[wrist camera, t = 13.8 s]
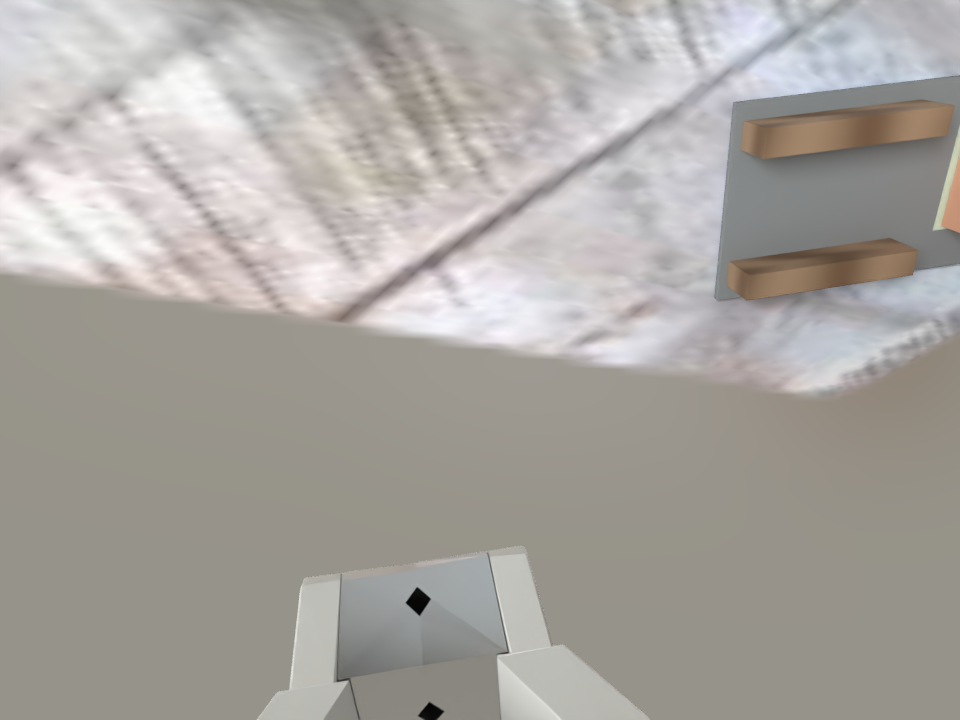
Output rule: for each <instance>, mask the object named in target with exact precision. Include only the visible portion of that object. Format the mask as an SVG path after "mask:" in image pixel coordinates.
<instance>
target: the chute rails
mask: <svg viewBox="0 0 960 720" xmlns="http://www.w3.org/2000/svg"><path fill="white" fill-rule="evenodd" d="M954 107H955V105H950V104H945V103H939V102H934V101H928V100H922V99H920V100H911V101H903V102H895V103H887V104H879V105H870V106H862V107H854V108H846V109H838V110H829V111H821V112H813V113H805V114H797V115H789V116H780V117H772V118H764V119H756V120H748V121H744V122H743V131H742V141H741V150H742V151H744V152H747V153H749V154H752V155H755V156H757V157H760V158H762V159H769V158H776V157H784V156H792V155H800V154H807V153H815V152H823V151H831V150H838V149H846V148H854V147H862V146H869V145H877V144H885V143H893V142H900V141H908V140H916V139H923V138H931V137H939V136H947V135H948V131H949V127H950V123H951V119H952V115H953V111H954ZM918 251H919V250H916V249H914V248H912V247H910V246H907V245H905V244H903V243H901V242H898V241H896V240H894V239H892V238H885V239H879V240H872V241H865V242H858V243H851V244H844V245H838V246H831V247H824V248H817V249H810V250H803V251H796V252H790V253H783V254H776V255H769V256H762V257H755V258H749V259H742V260H735V261H729V264H728V274H727V283H726V285H727V286H728V287H729V288H731V289H732V290H733V291H735V292H736V293H737V294H739V295H740V296H741V297H743V298H744V299H745V300H753V299H760V298H766V297H773V296H779V295H786V294H792V293H799V292H805V291H812V290H818V289H825V288H831V287H838V286H844V285H851V284H857V283H864V282H870V281H877V280H883V279H890V278H896V277H903V276H909V275H913V271H914V267H915V263H916V259H917V255H918Z"/></svg>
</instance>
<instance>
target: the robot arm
mask: <svg viewBox="0 0 960 720" xmlns="http://www.w3.org/2000/svg"><path fill="white" fill-rule="evenodd" d="M257 720H651V719H649V718H648V717H647V716H646V715H645V714H644V713H643V712H641V711H640V710H639V709H638V708H637V707H636V706H635V705H633V704H632V703H631V702H630V701H629V700H628V699H626V698H625V697H624V696H623V695H622V694H621V693H620V692H618V691H617V690H616V689H615V688H614V687H613V686H612V685H611V684H609V683H608V682H607V681H606V680H605V679H604V678H602V677H601V676H600V675H599V674H598V673H597V672H595V671H594V670H593V669H592V668H591V667H590V666H589V665H588V664H586V663H585V662H584V661H583V660H582V659H581V658H580V657H578V656H577V655H576V654H575V653H574V652H573V651H571V650H570V649H569V648H568V647H567V646H566V645H557V646H553V643H552V640H551V636H550V632H549V629H548V626H547V622H546V618H545V615H544V611H543V607H542V604H541V601H540V597H539V593H538V590H537V586H536V583H535V579H534V575H533V572H532V568H531V565H530V562H529V558H528V554H527V551H526V550H525V548H524V547H523V546H516V547H510V548H503V549H497V550H491V551H488V552H487V553H486V551H483V552H477V553H472V554H465V555H458V556H452V557H446V558H440V559H434V560H428V561H421V562H416V563H414V564H406V565H398V566H390V567H382V568H374V569H366V570H358V571H350V572H343V573H339V574H332V575H323V576H315V577H308V578H304V581H303V583H302V586H301V589H300V597H299V607H298V615H297V624H296V633H295V643H294V652H293V661H292V670H291V679H290V688H289V690H286V691H281V692H277V693H276V695H275V696H274V697H273V699H272V700H271V701H270V703H269V704H268V705H267V707H266V708H265V709H264V711H263V712H262V713H261V715H260V716H259V717H258V719H257Z"/></svg>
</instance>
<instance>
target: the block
mask: <svg viewBox="0 0 960 720" xmlns="http://www.w3.org/2000/svg"><path fill="white" fill-rule="evenodd" d="M941 226H943V227H945V228H948V229H951V230H953V231H956V232H958V233H960V156H959V160H958V163H957V167H956V171H955V175H954V179H953V182H952V186H951V190H950V194H949V198H948V202H947V205H946V209H945V213H944V217H943V221H942V224H941Z"/></svg>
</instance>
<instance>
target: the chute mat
mask: <svg viewBox="0 0 960 720" xmlns="http://www.w3.org/2000/svg"><path fill="white" fill-rule="evenodd" d="M920 99H922V100H928V101H934V102H939V103H945V104H950V105H955V107H954V111H953V115H952V119H951V123H950V127H949V131H948V135H947V136H939V137H931V138H923V139H916V140H908V141H900V142H893V143H885V144H877V145H869V146H862V147H854V148H846V149H838V150H831V151H823V152H815V153H807V154H800V155H792V156H784V157H776V158H769V159H762V158H760V157H757V156H755V155H752V154H749V153H747V152H744V151H742V150H741V141H742V131H743V122H744V121H748V120H756V119H764V118H772V117H780V116H789V115H797V114H805V113H813V112H821V111H829V110H838V109H846V108H854V107H862V106H870V105H879V104H887V103H895V102H903V101H911V100H920ZM959 156H960V75H959V76H951V77H942V78H934V79H925V80H917V81H908V82H900V83H892V84H883V85H875V86H866V87H858V88H849V89H841V90H833V91H824V92H816V93H807V94H799V95H790V96H782V97H774V98H765V99H757V100H748V101H740V102H733V113H732V123H731V133H730V144H729V154H728V164H727V174H726V185H725V195H724V205H723V216H722V226H721V236H720V247H719V257H718V267H717V278H716V288H715V299H716V300H717V301H718V300H725V299H731V298H738V297H741V296H740V295H739V294H737V293H736V292H735V291H733V290H732V289H731V288H729V287H728V286H727V285H726V283H727V274H728V264H729V261H735V260H742V259H749V258H755V257H762V256H769V255H776V254H783V253H790V252H796V251H803V250H810V249H817V248H824V247H831V246H838V245H844V244H851V243H858V242H865V241H872V240H879V239H885V238H892V239H894V240H896V241H898V242H901V243H903V244H905V245H907V246H910V247H912V248H914V249H916V250H919V251H918V255H917V259H916V263H915V267H914V270H921V269H927V268H934V267H941V266H947V265H954V264H960V233H958V232H956V231H953V230H951V229H948V228H945V227H943V226H941V224H942V221H943V217H944V213H945V209H946V205H947V202H948V198H949V194H950V190H951V186H952V182H953V179H954V175H955V171H956V167H957V163H958V160H959Z"/></svg>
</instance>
